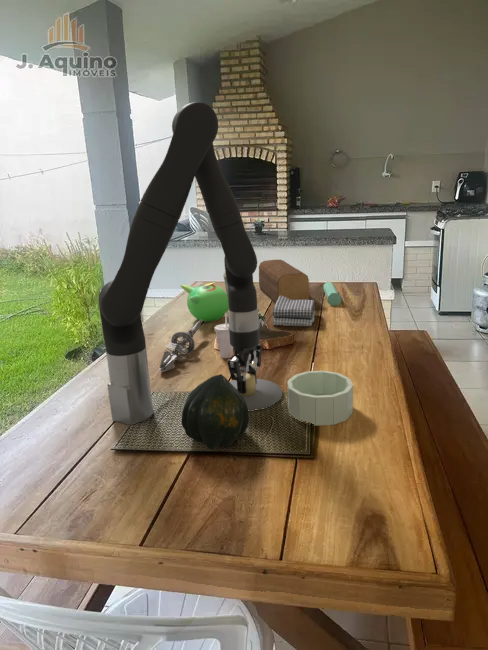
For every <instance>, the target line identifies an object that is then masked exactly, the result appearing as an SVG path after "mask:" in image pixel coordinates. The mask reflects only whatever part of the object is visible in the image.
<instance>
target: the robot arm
mask: <svg viewBox="0 0 488 650" xmlns="http://www.w3.org/2000/svg"><path fill="white" fill-rule="evenodd" d="M171 129H172V137H171V140H170V142H169V146H168V149H167V151H166V154H165V156H164V159H163V161H162V163H161V164H160V166H159V168H158V169H157V171H156V173H155V174H154V176H153V177H152V179H151V180H150V182H149V184H148V185H147V187H146V189H145V191H144V193H143V195H142V197H141V199H140V201H139V204H138V205H137V209H136V211H135V213H134V216H133V217H132V222H131V224H130V229H129V232H128V237H127V240H126V245H125V251H124V255H123V259H122V261H121V264H120V266H119V269H118V271H117V273H116V275H114V278H113V280H110V281H109V282H107V283H105V284H104V285H103V287H102V288H101V289H100V291H99V294H98V307H99V308H98V309H99V313H100V316H99V317H100V321H101V326H102V335H103V341H104V347H105V353H106V354H105V355H106V360H107V361H106V362H107V368H108V376H109V383H107V391H108V398H109V400H108V401H109V405H110V413H111V419H112V421H114V422H116V423H117V422H119V423H121V424H125V425H128V426H132V425H134V424H138V423H141V422H144V421H146V420H148V419H149V417H150V416H151V415H152V414H153V415H154V406H153V405H154V404H153V398H152V395H153V394H152V388H151V380H150V371H149V362H148V354H147V343H146V336H145V333H144V332H145V331H144V327H143V322H142V311H143V308H144V305H145V301H146V298H147V295H148V292H149V289H150V285H151V282H152V279H153V276H154V274H155V272H156V269H157V268H158V265H159V264H160V262H161V259H162V258H163V255H164V254H165V252H166V249H167V247H168V245H169V243H170V241H171V239H172V237H173V234H174V232H175V230H176V227H177V226H178V223H179V221H180V218H181V217H182V213H183V210H184V208H185V205H186V203H187V199H188V198H189V194H190V192H191V188H192V185H193V183H194V179H195V180H196V182H197V185H198V188H199V191H200V193H201V196H202V199H203V202H204V205H205V209H206V211H207V214H208V217H209V219H210V223H211V225H212V229H213V231H214V233H215V235H216V237H217V239H218V240H219V242H220V244H221V247H222V248H221V249H222V252H223V255H224V260H223V261H224V271H225V272H226V279H227V284H228V302H229V309H228V324H229V335H230V344H231V346H233V350H234V351H233V357H232V359H231V358H227V367H228V371H229V376H230V379H231V381H233V380H236V381H237V390H238V391H239V392H240V393H241V394H245V393H246V380H245V379H246V374H253V375H255V383H256V384H257V380H256V379H257V372H258V371H259V370H258V369H259V368H260V367H261V364H262V355H263V354H262V352H263V344H260V343H261V341H260V338H261V337H260V317H259V310H258V297H257V290H256V289H257V288H256V286H255V284H254V273H255V272H256V271H257V267H258V258H257V257H258V256H257V255H256V254H257V253H256V252H255V249H254V246H253V244H252V242H251V239H250V237H249V235H248V233H247V231H246V229H245V225H244V222H243V221H244V220H243V218H242V216H241V212H240V209H239V206H238V203H237V200H236V198H235V195H234V193H233V191H232V188H231V187H230V186H229V183H228V182H227V179H226V177H225V176H224V174H223V171H222V169H221V167H220V164H219V161H218V158H217V155H216V151H215V147H214V142H215V140H216V138H217V135H218V132H219V120H218V116H217V114H216V111H215V110H214V108H213V107H211V105H209V104H208V103H205V102H202V101H193V102H190V103H187V104H185V105H184V106H182V107H181V108H180V109H179V110H178V111H177V112H176V113H175V115H174V116H173V120H172V125H171ZM241 374H242V376H241ZM153 415H152V416H153ZM152 416H151V417H152ZM151 417H150V418H151ZM147 418H148V419H147ZM143 420H144V421H143ZM137 422H138V423H137Z"/></svg>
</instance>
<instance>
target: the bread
mask: <svg viewBox="0 0 488 650" xmlns="http://www.w3.org/2000/svg"><path fill="white" fill-rule="evenodd" d="M258 265H259V266H258V285H259V290H260V291H261V292H262V293H263V294H264V295H266V297H268V298H269V299H270V300H271V301H272V302H273V303H274V305H275V304H276V302H277V300H278V298H279V296H284V297H287V298H288V299H291V300H310V286H309V285H310V281H309V280H310V279H309V276H308V275H307V274H306V273H305V272H303V271H301V270H300V269H298V268H296V267H294V266H293V265H291V264H290V263H288V262H286V261H285V260H283V259H268V260H263V261H261V262H260V263H259V264H258Z"/></svg>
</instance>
